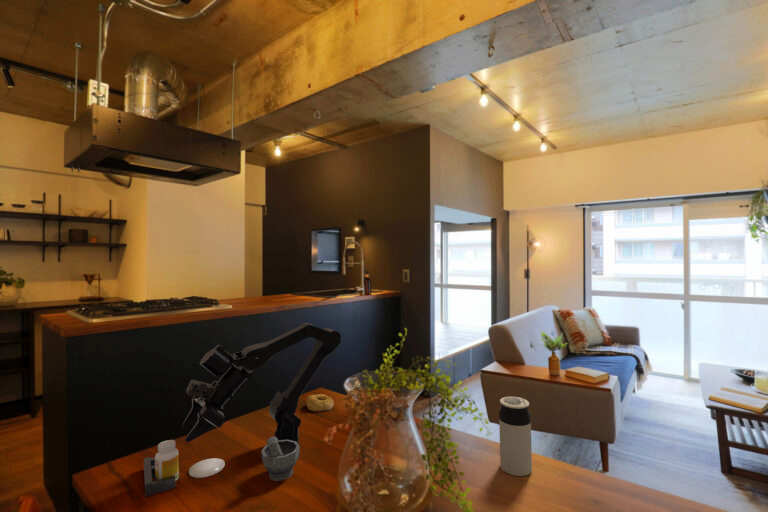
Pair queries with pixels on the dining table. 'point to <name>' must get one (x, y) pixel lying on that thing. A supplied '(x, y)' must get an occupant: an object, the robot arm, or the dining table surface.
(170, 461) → the supplement bottle
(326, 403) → the bagel
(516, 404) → the travel mug
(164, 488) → the rail
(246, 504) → the dining table surface
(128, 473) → the dining table surface
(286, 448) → the mortar and pestle
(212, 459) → the coaster
